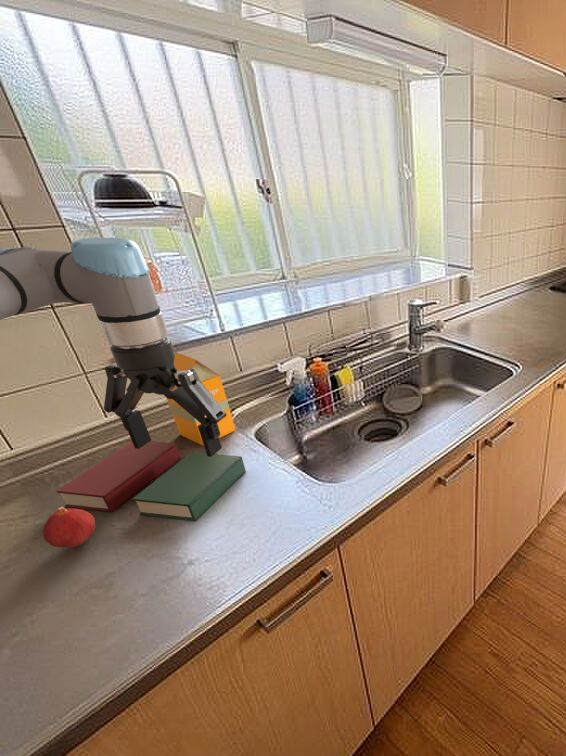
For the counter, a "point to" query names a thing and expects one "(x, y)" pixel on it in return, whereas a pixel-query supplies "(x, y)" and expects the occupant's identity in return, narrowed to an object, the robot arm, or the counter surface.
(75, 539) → the pomegranate
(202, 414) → the robot arm
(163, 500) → the green book
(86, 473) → the burgundy book
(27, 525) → the counter surface
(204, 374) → the orange juice
